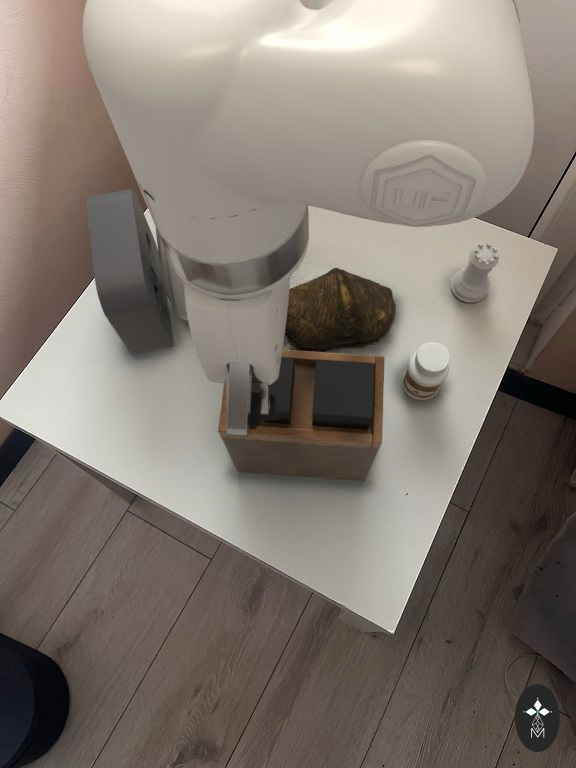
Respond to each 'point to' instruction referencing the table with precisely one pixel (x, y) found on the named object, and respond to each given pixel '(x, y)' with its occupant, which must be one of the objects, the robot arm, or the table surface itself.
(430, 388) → the pill bottle
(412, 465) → the table surface
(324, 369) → the black square block
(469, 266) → the rook chess piece
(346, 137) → the robot arm
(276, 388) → the black cube
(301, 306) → the seashell
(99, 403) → the table surface
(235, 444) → the box
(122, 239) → the streaming box
